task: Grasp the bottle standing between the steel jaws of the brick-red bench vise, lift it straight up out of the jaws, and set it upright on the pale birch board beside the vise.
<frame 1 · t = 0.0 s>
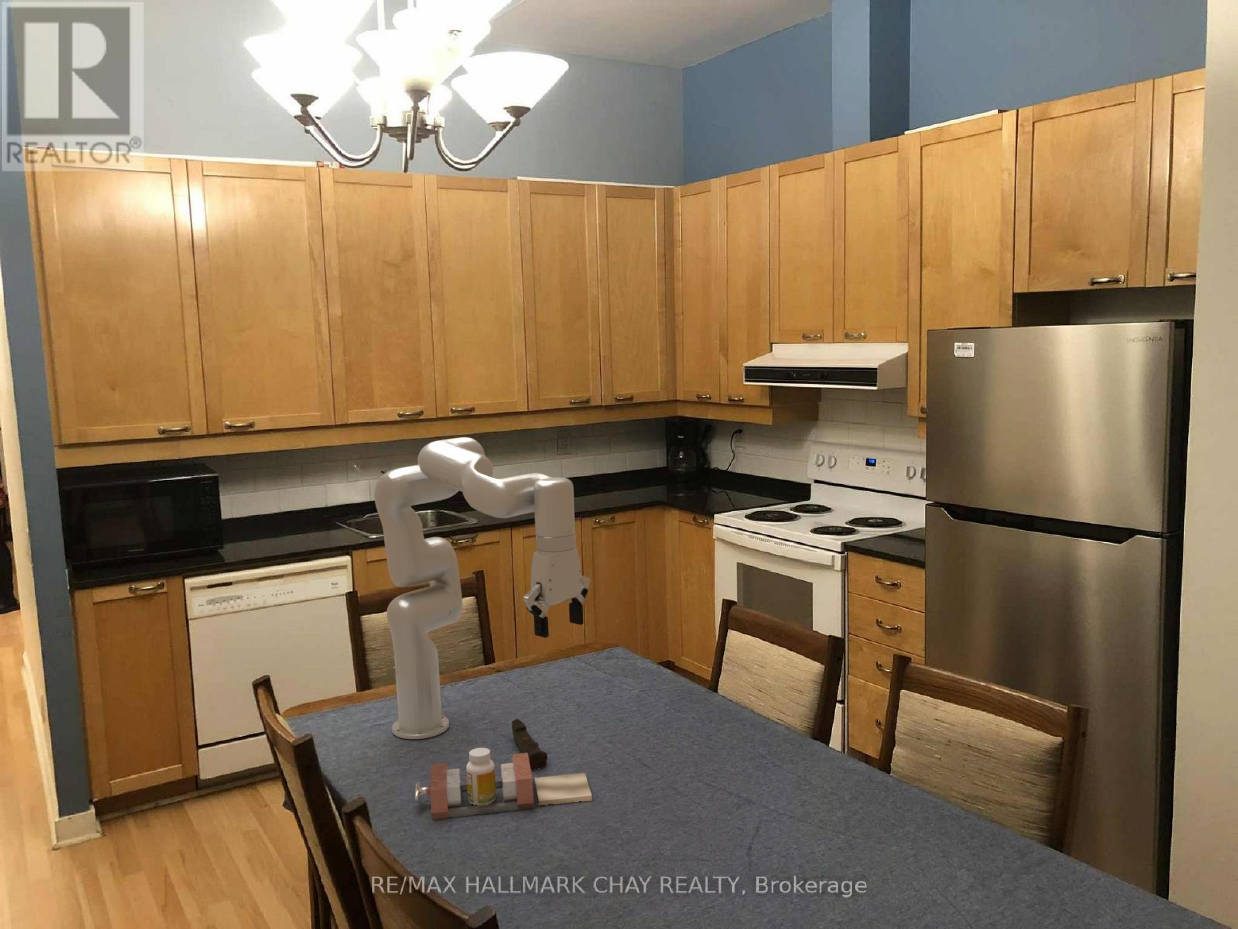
hand: (559, 629, 197), 31 cm above the table, tool pointing down, fingers open, 9 cm apart
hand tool: (524, 754, 216), on the table
birch board: (562, 791, 198), on the table
vise: (482, 800, 195), on the table
supplement bottle: (482, 801, 195), resting in vise
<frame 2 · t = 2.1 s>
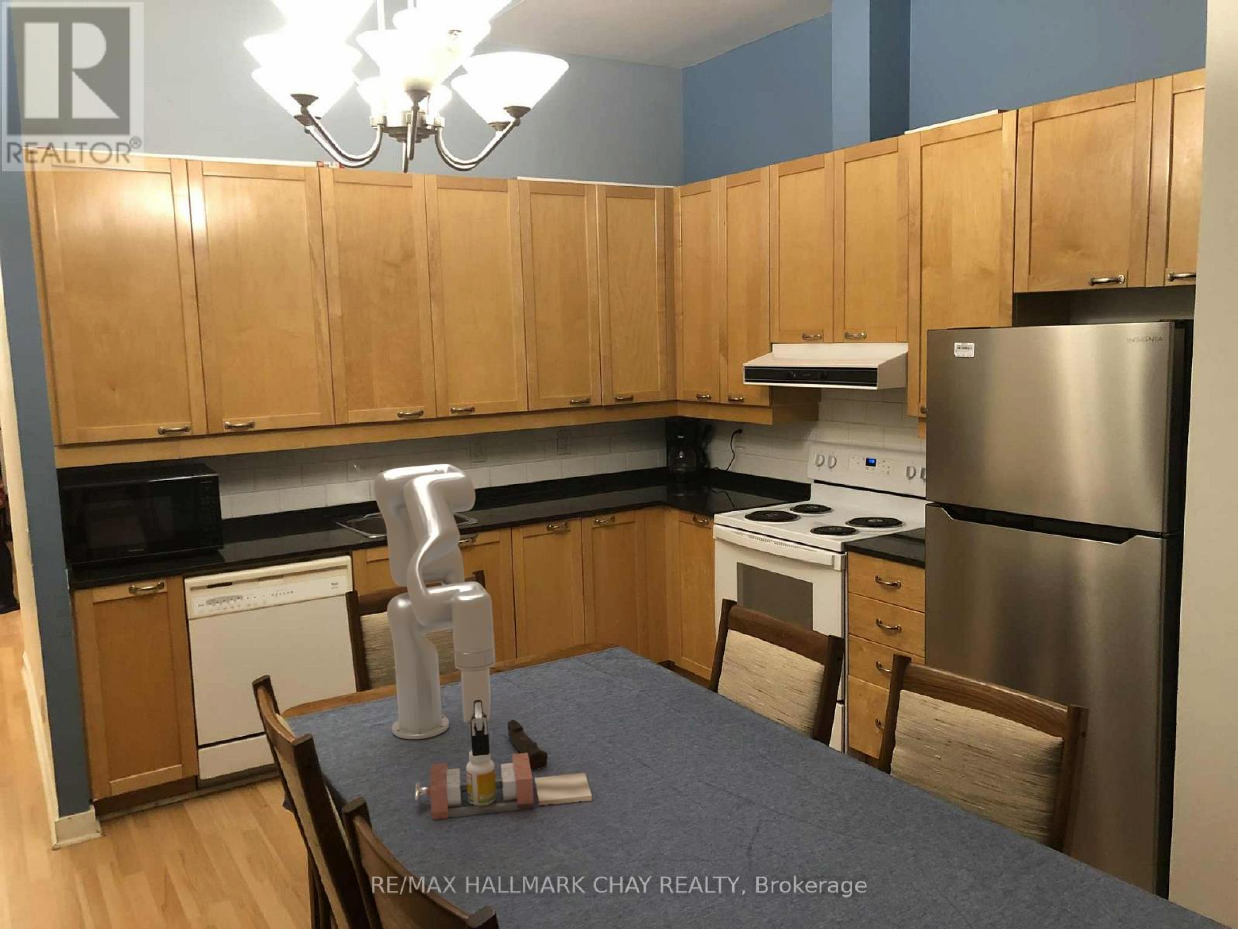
hand: (480, 744, 193), 11 cm above the table, tool pointing down, fingers open, 9 cm apart
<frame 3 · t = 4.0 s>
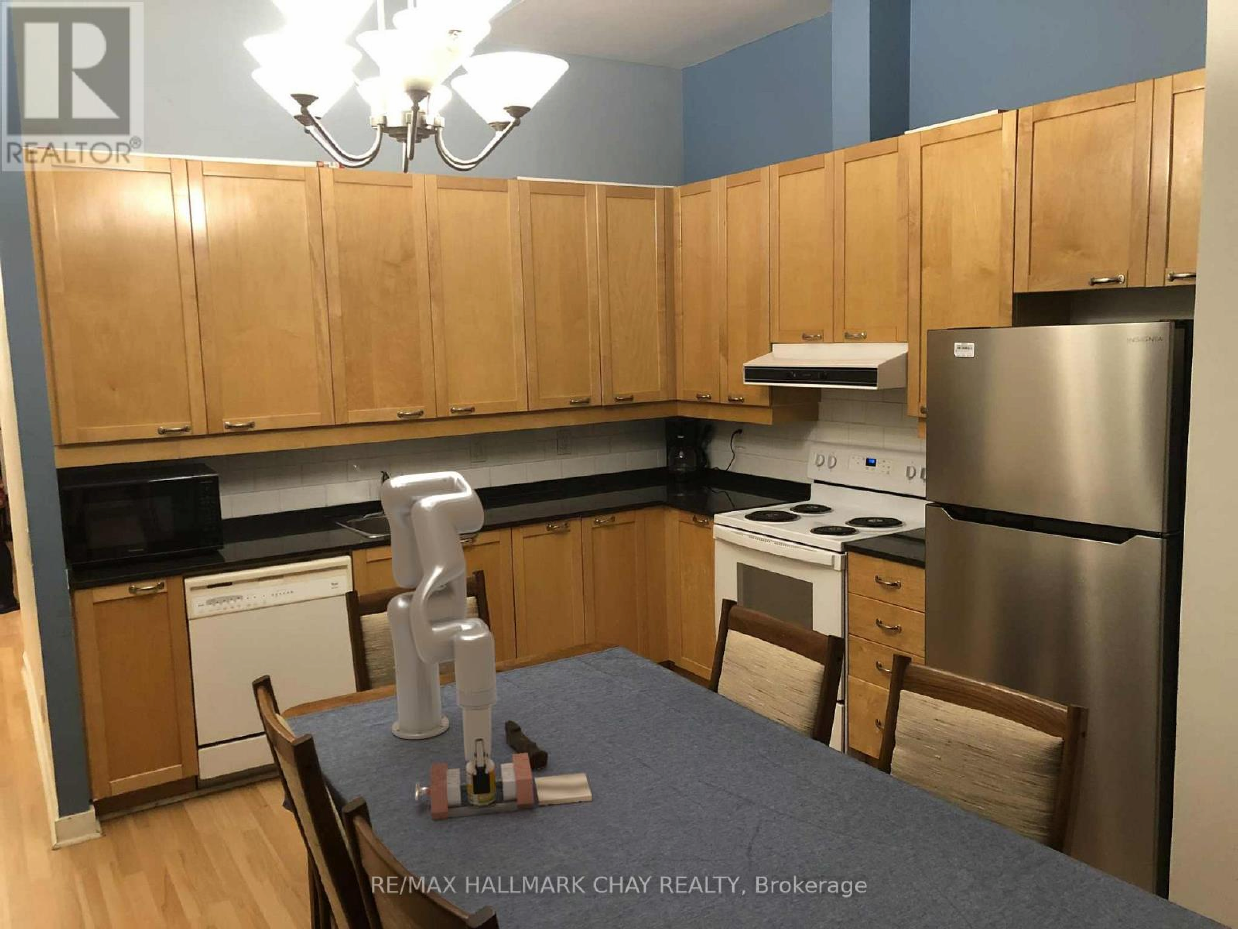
hand: (481, 785, 195), 3 cm above the table, tool pointing down, fingers closed on supplement bottle, 5 cm apart
supplement bottle: (482, 801, 195), resting in vise, touching gripper
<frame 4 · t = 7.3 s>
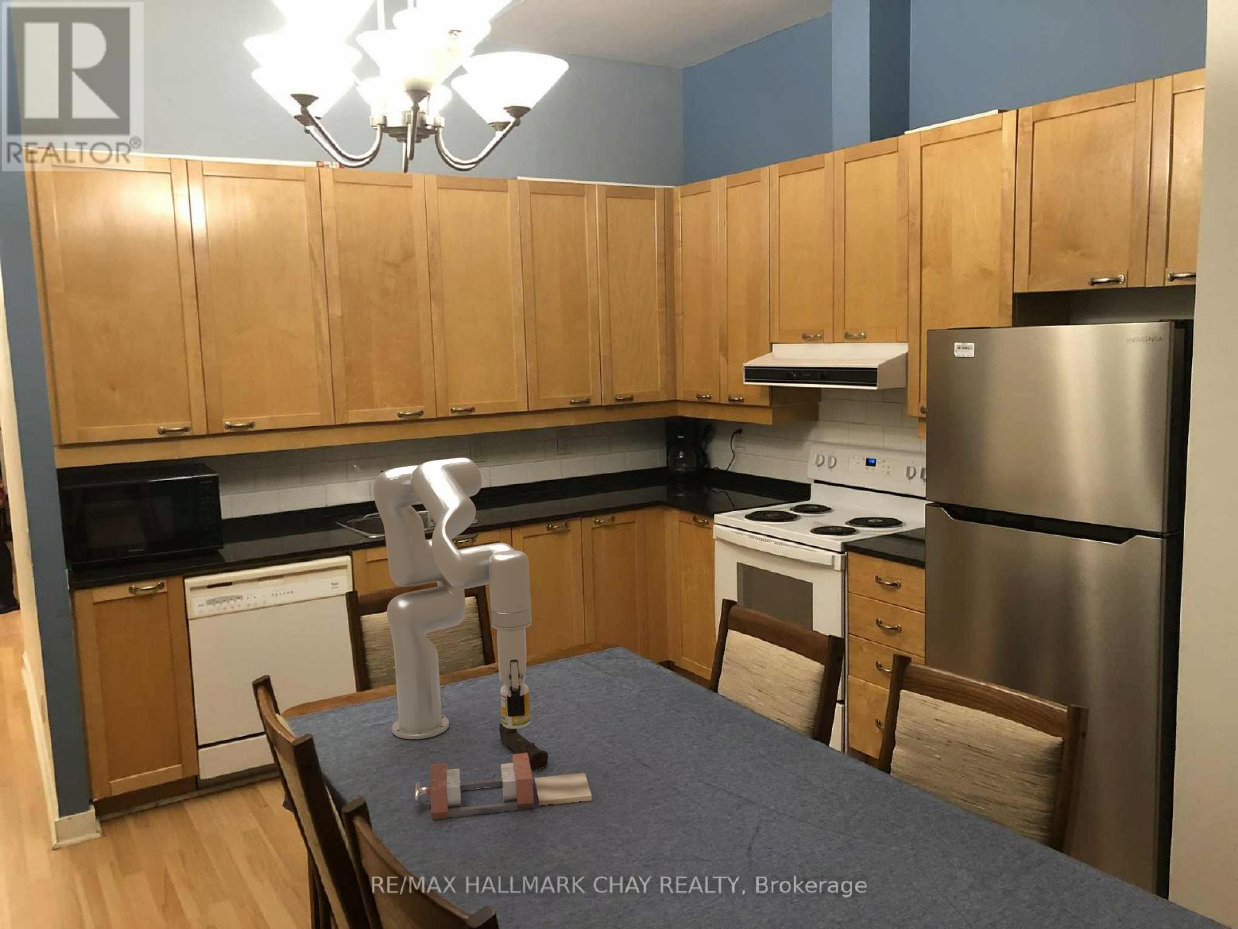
hand: (515, 708, 194), 18 cm above the table, tool pointing down, fingers closed on supplement bottle, 5 cm apart
supplement bottle: (516, 724, 194), point 14 cm above the table, touching gripper
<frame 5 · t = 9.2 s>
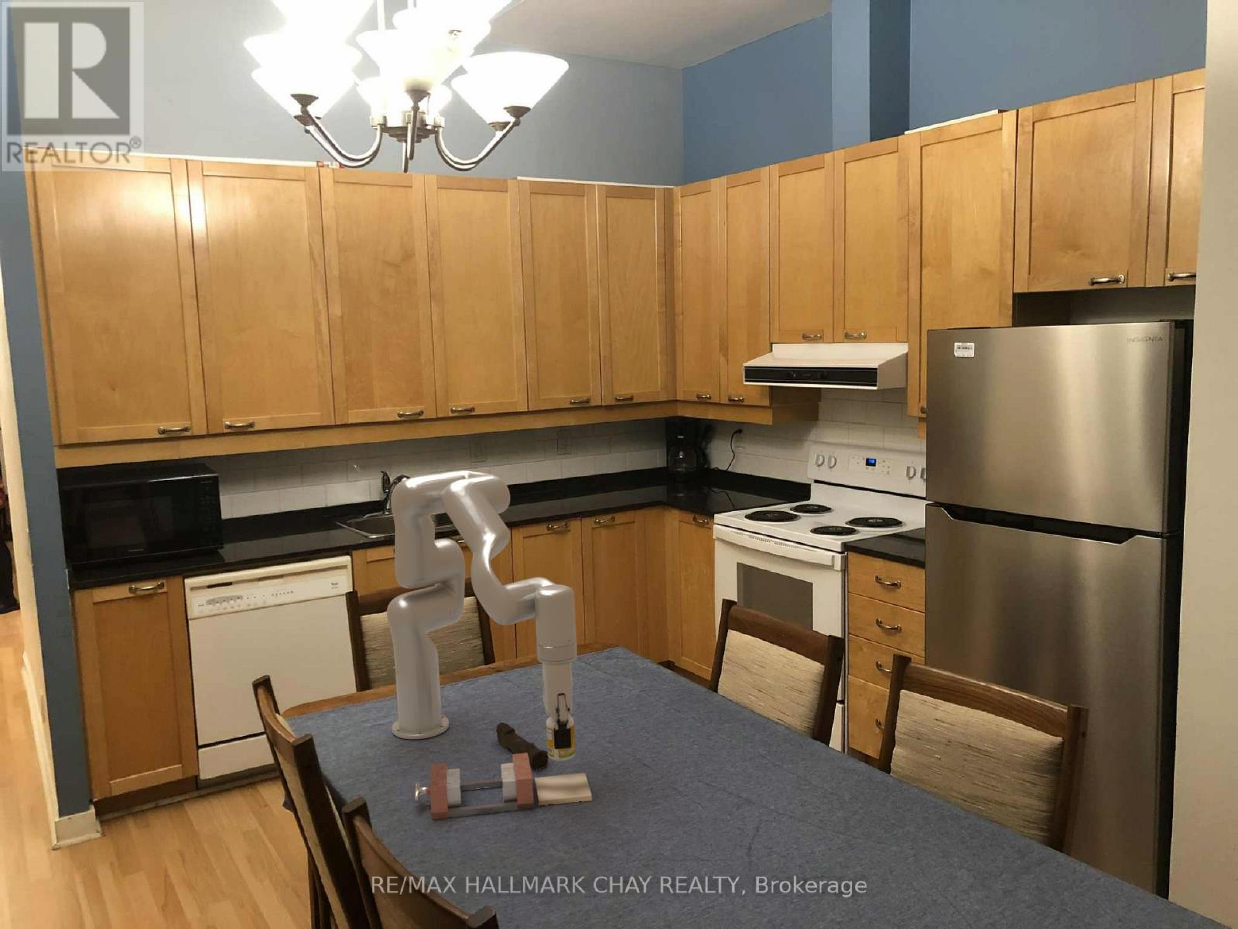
hand: (560, 740, 196), 10 cm above the table, tool pointing down, fingers closed on supplement bottle, 5 cm apart
supplement bottle: (561, 756, 196), point 7 cm above the table, touching gripper
when the fingers open (5 cm above the table, at t = 11.0 s): supplement bottle stays where it is, resting on birch board.
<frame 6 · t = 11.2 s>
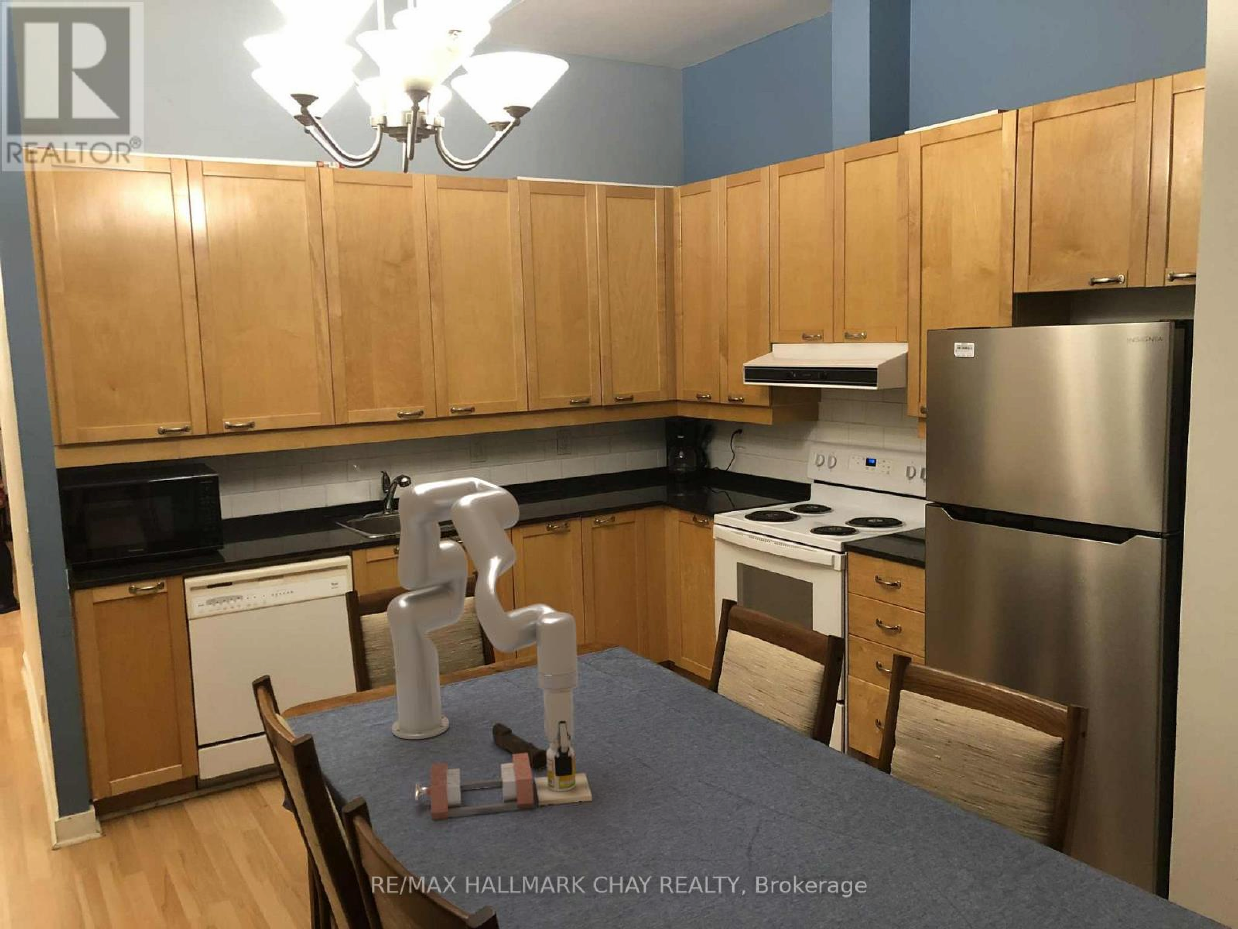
hand: (561, 766, 197), 5 cm above the table, tool pointing down, fingers open, 6 cm apart
supplement bottle: (561, 787, 198), point 1 cm above the table, touching birch board
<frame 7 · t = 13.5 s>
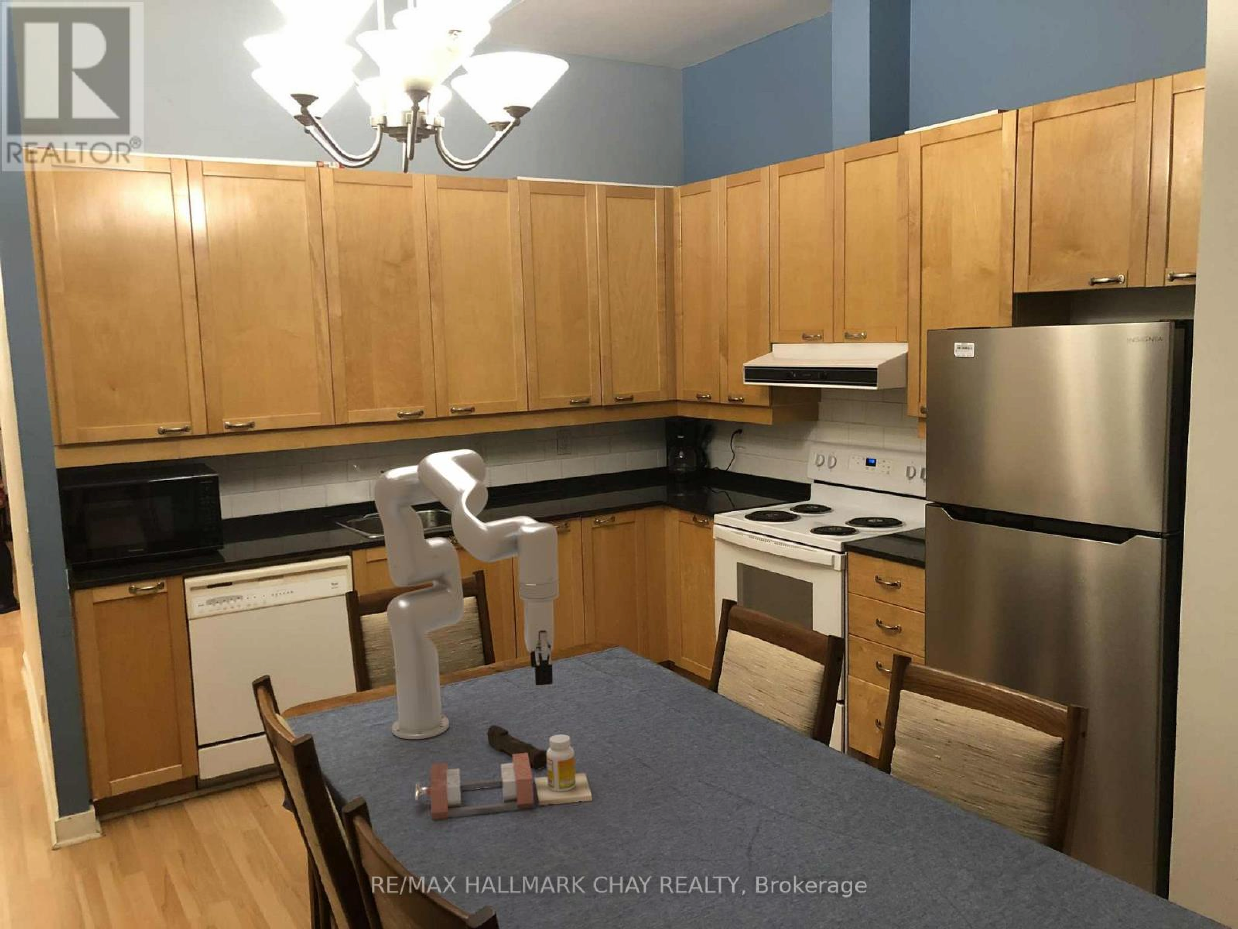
hand: (541, 675, 196), 23 cm above the table, tool pointing down, fingers open, 9 cm apart
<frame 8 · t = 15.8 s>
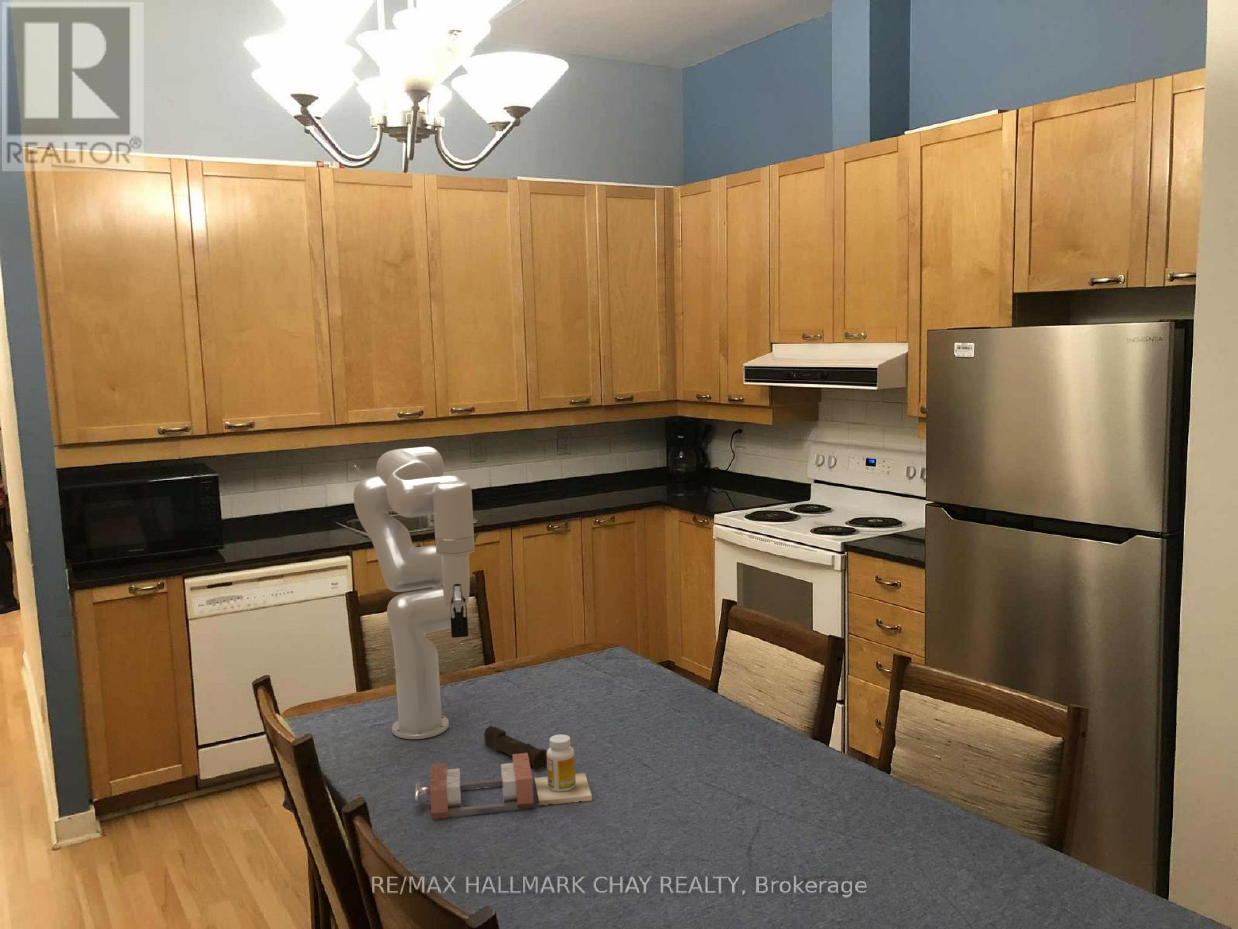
hand: (459, 629, 202), 30 cm above the table, tool pointing down, fingers open, 9 cm apart
at the end: supplement bottle 0.2 cm off-centre on the birch board, point 0.8 cm above the birch board's base; supplement bottle tilted 0°; the gripper is holding nothing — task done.
